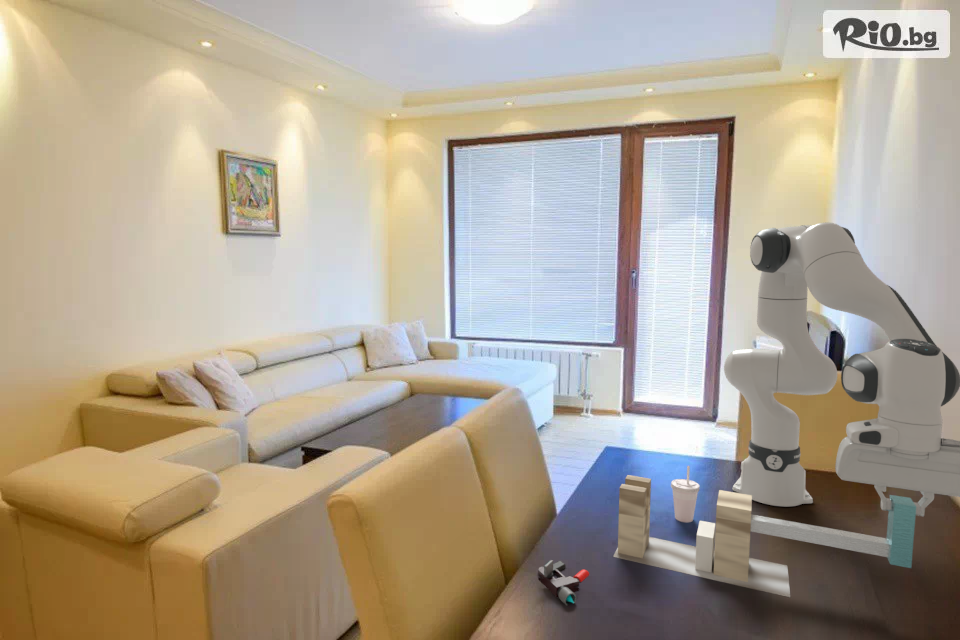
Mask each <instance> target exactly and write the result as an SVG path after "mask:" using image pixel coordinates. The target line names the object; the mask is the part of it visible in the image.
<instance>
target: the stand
mask: <svg viewBox="0 0 960 640" xmlns="http://www.w3.org/2000/svg"><path fill="white" fill-rule="evenodd" d="M624 480H625V481H624V483H621V485H620V486H619V490H618V491H619V492H618V495H619V497H618V499H619V500H618V502H619V503H618V529H617V548H616V550H615V551H614V554H613V558H616V559H621V560H625V561H628V562H629V561H630V562H634V563H639V564H643V565H647V566H651V567H655V568H660V569H664V570H669V571H673V572H677V573H682V574H685V575H686V574H687V575H691V576H696V577H698V578H699V577H700V578H704V579H707V580H713V581H717V582H720V583H726V584H729V585H732V586H734V585H735V586H738V587H743V588H747V589H752V590H756V591H761V592H764V593H765V592H766V593H769V594H773V595H778V596H783V597H787V598H791V589H790V578H789V569H788V565H786V564H781V563H777V562H772V561H766V560H764V559H763V560H762V559H757V558H752V557H750V545H751V531H750V529H751V514H752V502H753V500H752V495H747V494H741V493H739V492H736V491H728V490H722V489H719V490H718V495H717V499H716V500H717V501H716V509H715V510H716V511H715V513H716V514H715V542H714V559H713V566H712V573H711V572H707V571H702V570H698V569H695V561H696V545H695V546H694V545H690V544H687V543H686V544H684V543H682V542H681V543H680V542H676V541H671V540H665V539H661V538H657V537H651V536H650V524H651V523H650V522H651V521H650V520H651V497H652V496H651V494H652V478H648V477H644V476H643V477H642V476H637V475H630V474H627V475H626V477H625V478H624Z"/></svg>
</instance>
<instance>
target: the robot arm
mask: <svg viewBox="0 0 960 640" xmlns="http://www.w3.org/2000/svg"><path fill="white" fill-rule="evenodd" d="M749 247H750V248H749V256H750V261H751V264H752V265H753V266H754V268H755V269H756V270H757V271H760V276H759V284H758V294H757V313H756V314H757V315H756V323H757V326H758V328H759V330H760V331H761V332H763V333H764V334H766V335H767V336H769V337H771V338H774V339H775V340H777V341H778V342H780V343H781V345H782V349H780V350H779V349H770V348H769V349H766V348H754V347H753V348H752V347H751V348H742V349H736V350H732V351H731V352H730V353H729V354H728V356H727V357H726V359H725V361H724V365H723V369H724V370H723V371H724V375H725V378H726V379H727V381H728V382H729V383H730V385H732V386H733V387H734V388H735V389H737V390H738V392H740V394H741V395H742V396H743V398H744V399H745V401H746V403H747V405H748V408H749V411H750V419H751V420H750V422H751V423H750V424H751V436H750V437H751V438H750V440H749V441H748V442H749V444H748V448H747V449H748V457H746V458H745V459H744V460H742V461H741V464H740V470H741V473H740V476H739V478H738V479H737V480H736V481H735V483H733V485H732V491H733V492H735V493H741V494H747V495H752V501H754V502H758V503H762V504H764V505H770V506H774V507H785V508H786V507H796V506H800V505H802V504H803V505H804V504H807V505H808V504H813V503H814V501H813V497H812V495H810V493H809V492H808V491H807V489H806V477H807V476H806V475H807V474H806V470H805V469H804V467H803V466H802V465H801V464H800V462H801V461H800V460H801V447H800V445H799V444H800V443H799V442H800V428H801V427H800V425H801V422H800V421H801V420H800V417H799V416H798V414H797V413H796V412H795V411H794V410H793V409H791V408H789V407H788V406H787V405H785V404H782V403H781V402H779V401H778V400H777V399H776V398H775V396H774V394H775V393H776V394H777V393H781V394H792V395H800V396H814V395H815V396H817V395H818V396H819V395H826V394H828V393H830V391H832V389H833V388H834V387H835V386H836V384H837V380H838V370H837V366H836V364H835V363H834V361H833V360H832V359H831V358H830V357H829V356H828V355H827V354H825V353H823V352H822V351H821V350H820V349H819V348H818V346H817V345H816V344H815V343H814V341H813V339H812V337H811V335H810V333H809V328H808V317H807V316H808V311H807V310H808V290H809V292H810V294H811V295H812V296H813V298H814V299H815V301H817V302H818V303H819V304H821V305H822V306H825V307H826V308H829V309H832V310H836V311H840V312H844V313H848V314H851V315H855V316H857V317H858V316H859V317H862V318H865V319H867V320H869V321H870V322H873V323H875V324H876V325H878V326H879V327H880V328H881V329H882V330H883V331H884V333H885V334H886V336H887V338H888V339H889V341H888V342H886V343H885V345H884V346H883V347H881V348H878V349H875V350H871V351H864V352H860V353H855V354H853V355H851V356H850V357H848V359H847V360H846V361H845V363H844V364H843V366H842V369H841V373H840V382H841V387H842V389H843V390H844V392H845V393H846V394H847V395H848V396H849V397H850V398H851V399H852V400H854V401H855V402H859V403H863V404H870V405H877V406H878V412H877V418H871V419H865V420H859V421H858V420H857V421H852V422H848V423H847V424H846V427H845V431H846V432H845V433H846V435H847V436H845V437H844V438H842V440H841V442H840V443H839V446H838V449H837V453H836V459H835V468H834V469H835V473H836V474H837V476H838V477H839V478H840V479H841V480H842V481H847V482H854V483H860V484H868V485H874V489H875V491H876V493H877V494H878V496H879V497H880V508H881V510H882V511H886V512H887V511H888V512H889V511H892V510H893V508H892V507H893V501H892V500H891V499H890V497H889V498H888V497H886V496H885V494H884V493H885V492H887V488H895V489H902V490H909V491H915V492H920V494H921V495H922V497H921V498H920V499H919V501H917V502H915V501H913V502H914V504H915V505H916V516H917V517H923V518H924V516H925V512H926V508H927V507H928V506H929V505H930V504H931V503H932V502H933V501H934V499H935V494H936V495H943V496H951V497H959V498H960V440H956V439H950V438H944V437H943V438H942V433H943V432H942V430H943V416H942V413H941V407H943V406H945V405H946V404H948V403H949V402H951V400H952V399H954V397H955V396H956V395H957V393H958V391H959V390H960V372H959V369H958V368H957V366H956V364H955V363H954V362H953V361H952V359H950V358H949V356H947V354H946V353H944V352H943V351H942V349H941V348H940V347H939V346H937V345H936V343H935V342H934V340H933V339H932V338H931V336H930V335H929V333H928V332H927V331H926V329H925V328H924V327H923V325H922V323H921V322H920V321H919V319H918V318H917V316H916V315H915V314H914V312H913V311H912V309H911V308H910V307H909V305H908V304H907V302H906V301H905V300H904V299H903V297H902V296H901V295H900V293H899V292H897V290H896V289H895V288H893V287H892V286H890V285H889V284H886V283H885V282H884V281H883V280H881V279H880V278H879V277H877V275H876V274H875V273H874V272H873V271H872V270H871V269H870V267H868V266H867V264H866V262H865V261H864V259H863V256H862V254H861V252H860V250H859V248H858V247H857V245H856V242H855V238H854V235H853V234H852V232H851V231H850V230H849V228H846V227H843V226H841V225H839V224H837V223H834V222H829V221H828V222H819V223H816V224H806V225H805V224H804V225H796V226H795V225H794V226H787V227H779V228H776V227H770V228H766V229H762V230H760V231H758V232H757V233H756V234H755V235H754V236H753V238H752V239H751V242H750V246H749ZM883 492H884V493H883Z"/></svg>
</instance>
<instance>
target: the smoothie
mask: <svg viewBox="0 0 960 640" xmlns="http://www.w3.org/2000/svg"><path fill="white" fill-rule="evenodd" d="M686 468H687V469H686V479H685V478H684V479H683V478H677V479H673V480H672V481H671V482H670V488H671V489H672V498H673V509H674V511H673V512H674V519H676V521H679V522H681V523H691V522H693V520H694V515H695V512H696V504H697V500H698V495H699V491H701V490H700V484H699V483H697V481H694V480H691V479H690V470H691V469H690V465H687V467H686Z"/></svg>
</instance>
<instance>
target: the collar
mask: <svg viewBox="0 0 960 640" xmlns="http://www.w3.org/2000/svg"><path fill="white" fill-rule="evenodd" d="M715 531H716V522H709V521H705V520H699V522H698V528H697V532H696V538H695V539H696V540H695V541H696V542H695V546H696V561H695V569H698V570H702V571H707V572H711V573H712V566H713V559H714V550H715Z"/></svg>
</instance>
